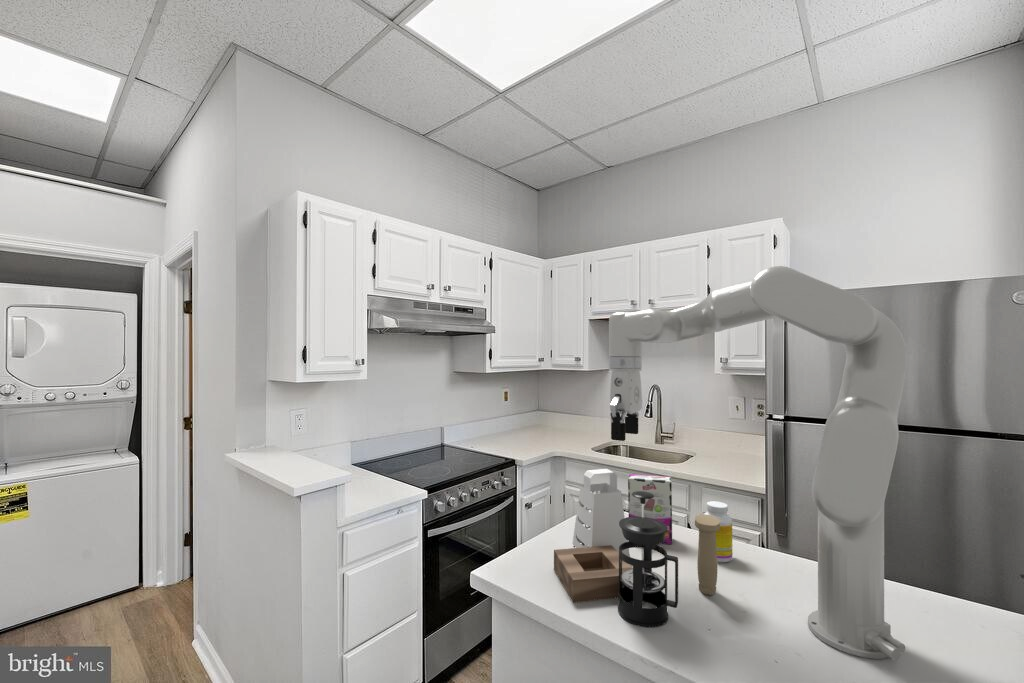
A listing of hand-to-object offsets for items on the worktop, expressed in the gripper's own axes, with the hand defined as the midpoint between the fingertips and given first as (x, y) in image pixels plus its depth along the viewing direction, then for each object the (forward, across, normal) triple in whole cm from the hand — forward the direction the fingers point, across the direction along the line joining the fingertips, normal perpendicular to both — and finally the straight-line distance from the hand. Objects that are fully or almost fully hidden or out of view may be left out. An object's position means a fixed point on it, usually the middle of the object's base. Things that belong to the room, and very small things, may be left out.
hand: (625, 436), depth 109 cm
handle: (+30, -3, -18) cm, 35 cm away
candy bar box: (+30, +18, -1) cm, 35 cm away
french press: (+30, -18, -10) cm, 36 cm away
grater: (+30, +3, +7) cm, 31 cm away
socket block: (+30, -12, +3) cm, 32 cm away
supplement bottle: (+30, +16, -18) cm, 38 cm away
